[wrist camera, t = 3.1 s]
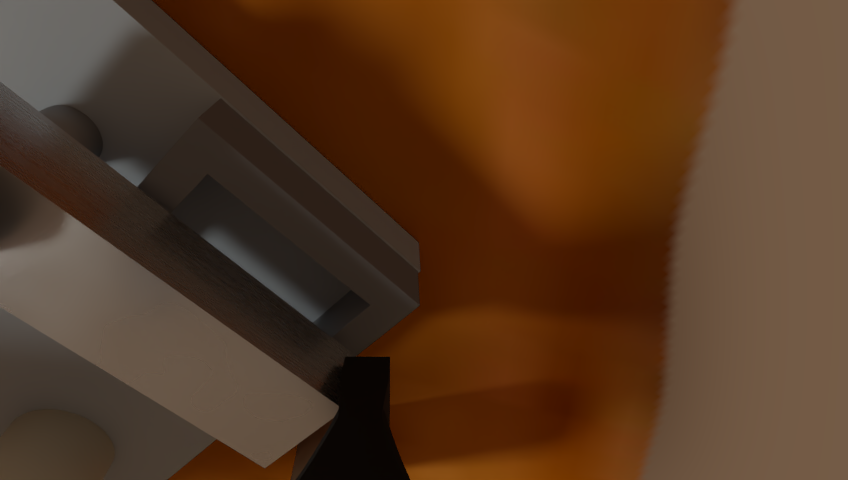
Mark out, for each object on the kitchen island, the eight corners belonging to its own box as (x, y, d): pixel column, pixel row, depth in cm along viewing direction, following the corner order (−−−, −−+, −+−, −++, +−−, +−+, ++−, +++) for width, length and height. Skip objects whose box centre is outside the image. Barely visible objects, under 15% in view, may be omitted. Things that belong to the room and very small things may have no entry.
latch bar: (-95, 154, 10) (-186, 194, 8) (-28, 60, 9) (-115, 83, 8) (280, 406, 13) (264, 468, 12) (351, 352, 13) (344, 409, 11)
